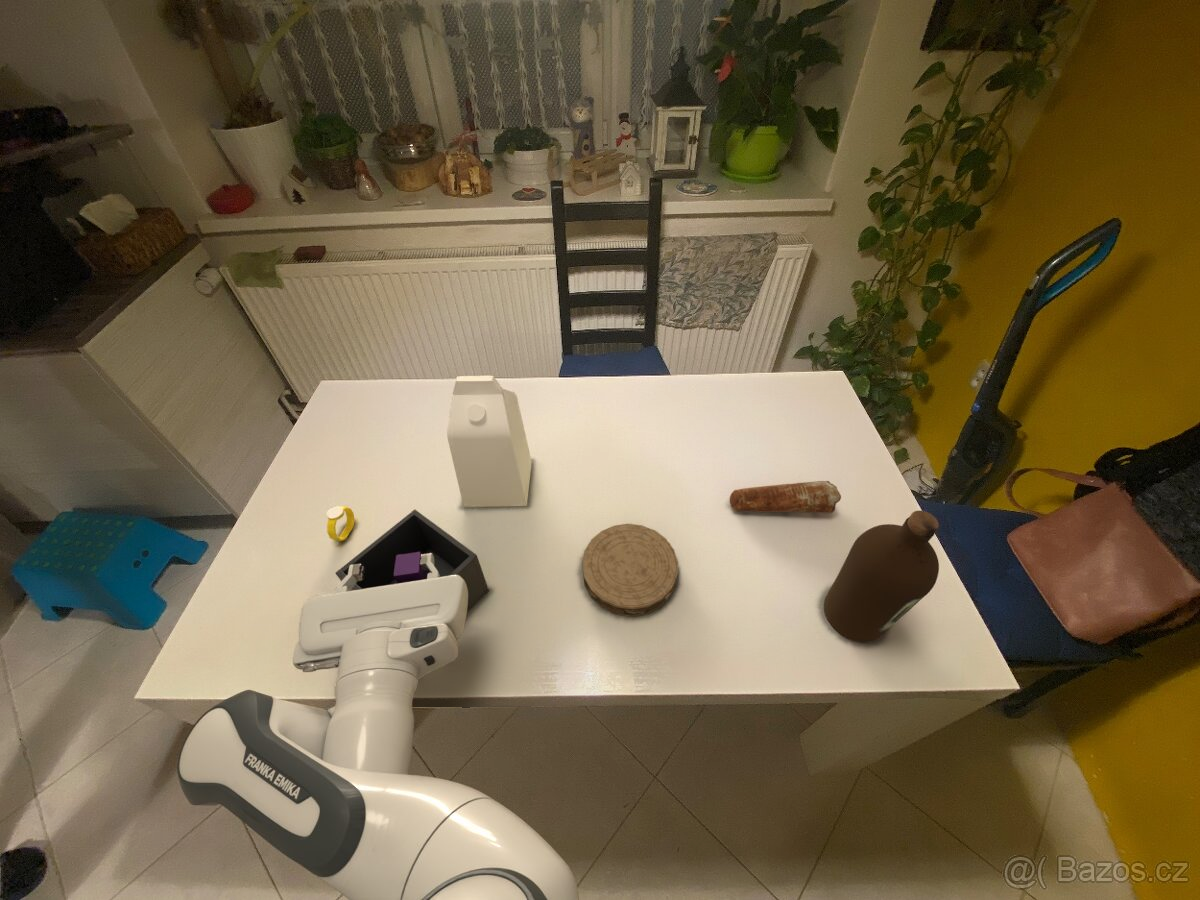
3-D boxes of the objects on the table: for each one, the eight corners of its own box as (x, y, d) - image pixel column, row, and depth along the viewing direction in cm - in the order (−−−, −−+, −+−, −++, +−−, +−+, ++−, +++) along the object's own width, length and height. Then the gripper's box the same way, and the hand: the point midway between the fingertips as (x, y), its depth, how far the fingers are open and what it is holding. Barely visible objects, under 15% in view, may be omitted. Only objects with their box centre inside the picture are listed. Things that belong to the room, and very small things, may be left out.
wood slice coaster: (563, 582, 85) (562, 572, 83) (617, 519, 94) (617, 509, 92) (643, 635, 78) (644, 627, 76) (693, 562, 87) (695, 553, 85)
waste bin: (418, 661, 76) (397, 630, 68) (360, 607, 82) (334, 572, 74) (489, 590, 84) (477, 555, 76) (431, 546, 90) (414, 509, 83)
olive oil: (806, 615, 80) (864, 521, 63) (837, 572, 86) (899, 474, 68) (872, 662, 75) (955, 574, 57) (901, 613, 81) (985, 519, 63)
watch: (346, 547, 90) (333, 527, 86) (331, 545, 91) (317, 526, 86) (361, 520, 94) (349, 500, 90) (347, 518, 95) (335, 498, 90)
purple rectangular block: (435, 604, 82) (418, 572, 74) (412, 608, 81) (393, 576, 74) (436, 585, 84) (420, 551, 77) (414, 588, 84) (396, 555, 76)
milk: (531, 461, 104) (515, 356, 86) (526, 505, 96) (507, 400, 78) (473, 462, 104) (444, 358, 86) (463, 507, 96) (429, 402, 78)
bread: (834, 519, 93) (844, 500, 89) (730, 517, 94) (735, 498, 90) (825, 492, 98) (834, 473, 94) (725, 491, 98) (730, 472, 94)
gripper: (300, 685, 62) (323, 584, 71) (470, 655, 64) (470, 562, 74) (276, 664, 57) (304, 560, 67) (460, 633, 60) (462, 537, 69)
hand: (393, 560), depth 70 cm, fingers open, 8 cm apart
